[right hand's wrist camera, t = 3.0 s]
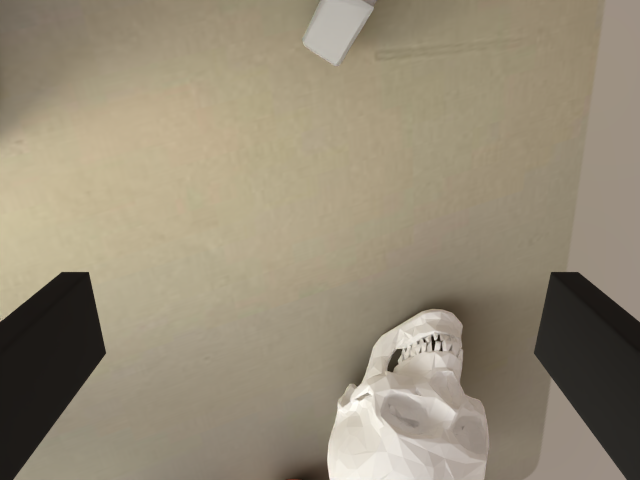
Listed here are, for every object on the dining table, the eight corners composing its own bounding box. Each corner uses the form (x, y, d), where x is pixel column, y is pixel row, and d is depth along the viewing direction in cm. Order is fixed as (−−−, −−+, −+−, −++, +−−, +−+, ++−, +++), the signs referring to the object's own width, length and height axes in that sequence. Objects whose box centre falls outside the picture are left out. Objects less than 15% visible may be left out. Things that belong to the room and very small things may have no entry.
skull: (496, 315, 47) (571, 430, 32) (418, 463, 55) (450, 610, 40) (376, 280, 46) (397, 383, 31) (314, 436, 54) (308, 578, 39)
